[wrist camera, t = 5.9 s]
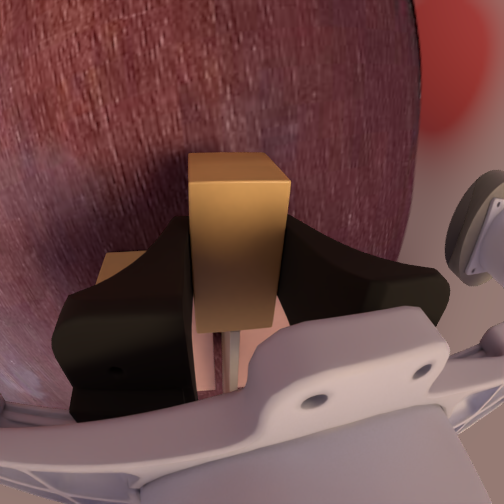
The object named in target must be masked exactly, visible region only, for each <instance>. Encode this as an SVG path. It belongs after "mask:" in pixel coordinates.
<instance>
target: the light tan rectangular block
mask: <svg viewBox="0 0 504 504" xmlns="http://www.w3.org/2000/svg"><path fill="white" fill-rule="evenodd" d="M288 326H290V325H289V322H288V319H287V317H286V315H285V312H284V310H283V308H282V306H281V303H280V301H279V299H278V296H277V298H276V305H275V312H274V319H273V325H272V327H270V328H260V329H250V330H240V343H239V365H238V387H245V385H246V382H247V375H248V364H249V361H250V359H251V357H252V355H253V353H254V351H255V349H256V347H257V346H258V345H259V344H260V343H261V342H263V341H264V340H266V339H267V338H268V337H270V336H271V335H272V334H274V333H275V332H277V331H278V330H279V329H281V328H285V327H288Z"/></svg>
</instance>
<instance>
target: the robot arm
mask: <svg viewBox="0 0 504 504" xmlns="http://www.w3.org/2000/svg"><path fill="white" fill-rule="evenodd" d="M484 272H488V273H489V274H490V275H491V276H492V277H493V278H494V279H495V280H496V281H497V282H498V283H499V284H500V285H501V286H502V287H503V288H504V199H503V198H496V197H494V198H493V199H492V200H491V202H490V205H489V208H488V211H487V214H486V217H485V220H484V223H483V226H482V229H481V232H480V234H479V237H478V240H477V242H476V245H475V247H474V250H473V252H472V255H471V257H470V260H469V262H468V265H467V267H466V269H465V273H466V274H467V275H473V274H478V273H484ZM277 296H278V299H279V301H280V303H281V306H282V308H283V310H284V312H285V315H286V317H287V319H288V322H289V325H290V326H288V327H285V328H281V329H279V330H278V331H277V332H275V333H274V334H272V335H271V336H270V337H268V338H267V339H266V340H264V341H263V342H261V343H260V344H259V345H258V346H257V347H256V349H255V351H254V353H253V355H252V357H251V359H250V361H249V364H248V375H247V382H246V385H245V387H244V388H241V389H238V390H235V391H231V392H228V393H224V394H221V395H217V396H213V397H210V398H206V399H202V400H198V396H197V387H196V377H195V367H194V356H193V344H192V309H193V282H192V267H191V249H190V227H189V216H175V217H174V218H173V219H172V220H171V221H170V223H169V224H168V226H167V227H166V228H165V230H164V231H163V232H162V234H161V235H160V236H159V237H158V239H157V240H156V241H155V242H154V243H153V244H152V245H151V247H150V248H149V249H148V250H147V251H146V252H145V253H144V254H143V255H141V256H140V257H139V258H138V259H137V260H135V261H134V262H133V263H131V264H130V265H129V266H127V267H126V268H124V269H123V270H121V271H120V272H118V273H117V274H115V275H113V276H111V277H110V278H108V279H106V280H104V281H102V282H100V283H98V284H96V285H94V286H92V287H89V288H87V289H84V290H82V291H79V292H76V293H74V294H71V295H68V297H67V300H66V302H65V304H64V306H63V308H62V310H61V313H60V315H59V318H58V321H57V324H56V327H55V330H54V332H53V335H52V350H53V353H54V355H55V358H56V359H57V361H58V363H59V365H60V367H61V368H62V370H63V372H64V373H65V375H66V377H67V378H68V380H69V382H70V383H71V385H72V386H73V391H72V396H71V402H70V408H69V410H66V409H56V408H48V407H40V406H33V405H26V404H20V403H14V402H8V401H5V400H4V398H3V397H2V395H1V394H0V484H2V485H5V486H8V487H11V488H14V489H17V490H20V491H23V492H26V493H29V494H33V495H36V496H39V497H43V498H46V499H50V500H53V501H57V502H61V503H65V504H492V502H491V500H490V497H489V495H488V493H487V491H486V489H485V487H484V485H483V483H482V481H481V479H480V477H479V475H478V473H477V471H476V469H475V467H474V465H473V463H472V461H471V459H470V457H469V456H468V454H467V452H466V450H465V448H464V446H463V445H462V443H461V441H460V439H459V437H458V434H460V433H461V432H463V431H464V430H466V429H467V428H469V427H470V426H472V425H473V424H474V423H476V422H477V421H479V420H480V419H482V418H483V417H485V416H486V415H487V414H489V413H490V412H491V411H493V410H494V409H496V408H497V407H498V406H500V405H501V404H503V403H504V322H502V323H499V324H497V325H495V326H492V327H491V328H490V329H488V330H487V331H486V333H485V334H484V336H483V337H482V339H481V341H480V343H479V344H477V345H475V346H473V347H470V348H468V349H466V350H463V351H461V352H458V353H456V354H453V355H451V356H449V355H450V348H449V346H448V344H447V342H446V340H445V339H444V338H443V336H442V335H441V334H440V332H439V331H438V330H437V329H436V326H437V324H438V322H439V320H440V318H441V316H442V314H443V312H444V310H445V309H446V306H447V304H448V301H449V296H450V286H449V283H448V282H447V280H446V279H445V278H444V277H443V276H442V275H441V274H440V273H439V272H438V271H437V270H436V269H434V268H428V267H421V266H414V265H408V264H403V263H399V262H394V261H390V260H387V259H383V258H379V257H376V256H373V255H370V254H367V253H364V252H361V251H359V250H356V249H354V248H351V247H349V246H346V245H344V244H342V243H340V242H337V241H335V240H334V239H332V238H330V237H328V236H326V235H324V234H322V233H320V232H318V231H317V230H315V229H313V228H311V227H309V226H308V225H306V224H304V223H303V222H301V221H299V220H297V219H296V218H294V217H292V216H290V215H288V214H287V221H286V229H285V237H284V245H283V253H282V260H281V268H280V276H279V283H278V290H277Z"/></svg>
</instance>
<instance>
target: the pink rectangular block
mask: <svg viewBox="0 0 504 504" xmlns="http://www.w3.org/2000/svg"><path fill="white" fill-rule="evenodd" d="M145 252H146V251H129V252H111V253H106V256H105V258H104V261H103V264H102V267H101V270H100V273H99V275H98V278H97V281H96V284H98V283H100V282H102V281H104V280H106V279H108V278H110V277H111V276H113V275H115V274H117V273H118V272H120V271H121V270H123V269H124V268H126V267H127V266H129V265H130V264H131V263H133V262H134V261H135V260H137V259H138V258H139V257H140V256H141V255H143V254H144V253H145ZM96 284H95V285H96ZM192 344H193V356H194V367H195V377H196V387H197V391H203V390H215V389H216V385H215V366H214V345H213V333H201V334H198V333H197V332H196V322H195V309H194V296H193V309H192Z"/></svg>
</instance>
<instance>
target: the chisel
mask: <svg viewBox="0 0 504 504" xmlns="http://www.w3.org/2000/svg"><path fill="white" fill-rule="evenodd" d="M290 187H291V181H290V180H289V179H288V177H287V176H286V175H285V174H284V173H283V172H282V171H281V170H280V169H279V168H278V167H277V166H276V164H275V163H274V162H273V161H272V160H271V159H270V158H269V157H268V156H267V155H266V154H265V153H260V152H215V153H189V154H188V198H189V227H190V249H191V267H192V282H193V296H194V309H195V322H196V332H197V333H198V334H201V333H215V332H222V385H223V394H224V393H228V392H231V391H235V390H237V387H238V365H239V343H240V330H250V329H260V328H270V327H272V325H273V319H274V312H275V305H276V298H277V290H278V283H279V276H280V268H281V260H282V253H283V245H284V237H285V229H286V221H287V212H288V204H289V195H290Z"/></svg>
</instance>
